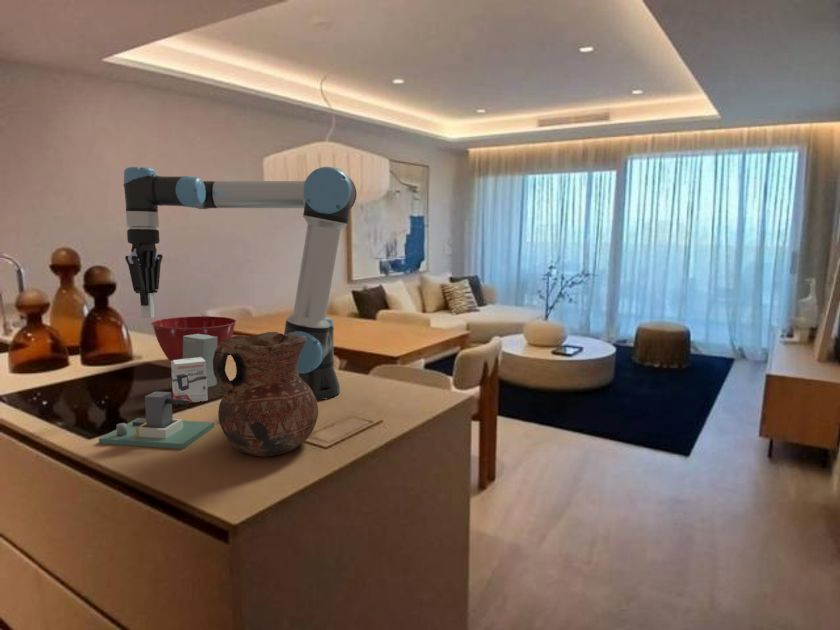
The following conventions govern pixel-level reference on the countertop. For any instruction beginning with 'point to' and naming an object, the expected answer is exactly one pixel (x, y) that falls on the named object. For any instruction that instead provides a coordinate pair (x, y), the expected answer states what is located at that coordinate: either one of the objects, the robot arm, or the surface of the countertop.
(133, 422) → the board
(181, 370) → the ink box
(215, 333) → the mixing bowl
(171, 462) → the countertop surface
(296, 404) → the jug
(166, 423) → the grey handled block
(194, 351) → the skincare box
